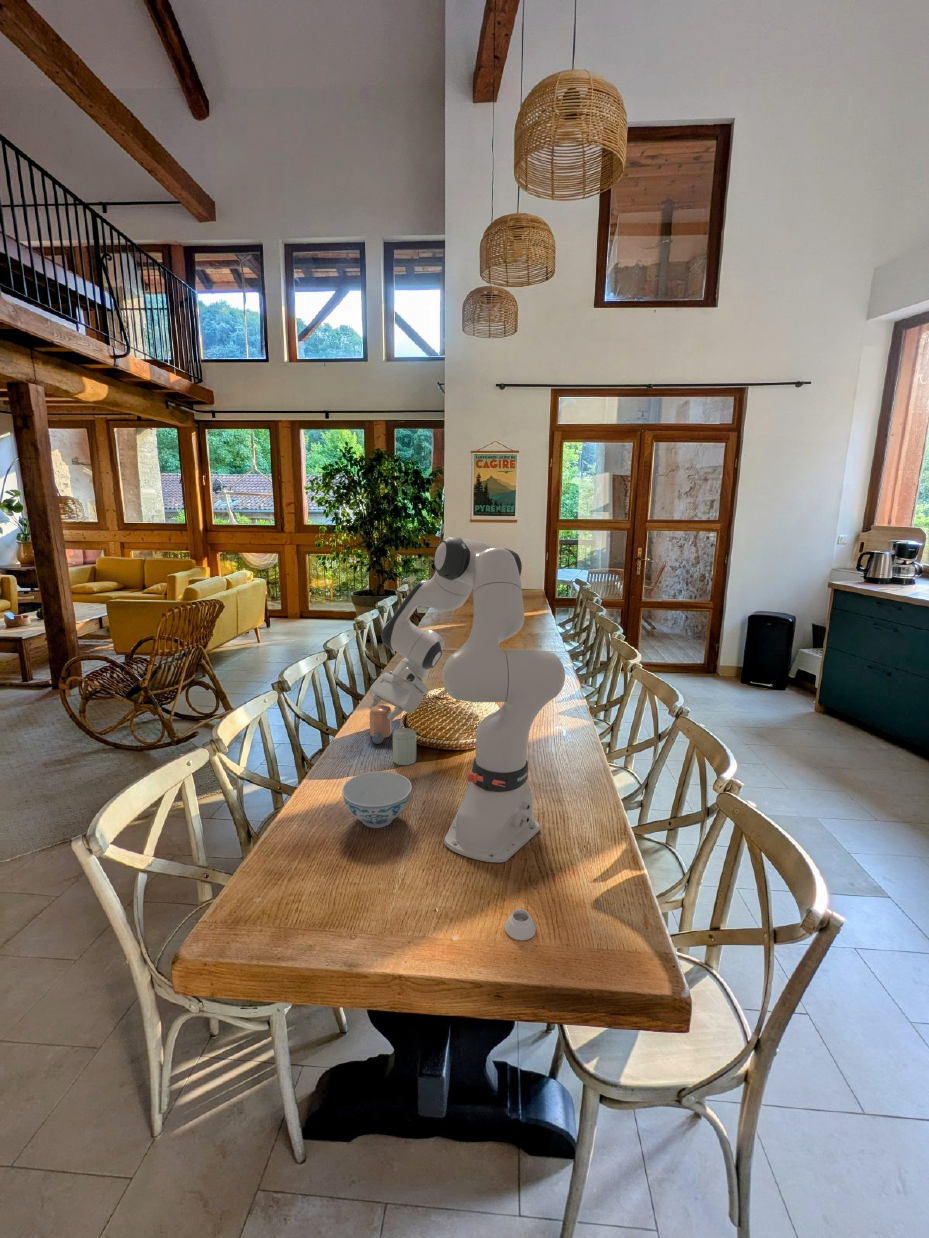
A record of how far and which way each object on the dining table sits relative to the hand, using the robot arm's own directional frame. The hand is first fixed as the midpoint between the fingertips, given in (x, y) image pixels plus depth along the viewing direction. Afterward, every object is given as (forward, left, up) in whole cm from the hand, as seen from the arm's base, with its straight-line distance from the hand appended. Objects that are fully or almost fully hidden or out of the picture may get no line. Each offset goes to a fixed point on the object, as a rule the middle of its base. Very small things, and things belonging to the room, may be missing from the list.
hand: (379, 715), depth 168 cm
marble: (-6, -3, -4) cm, 8 cm away
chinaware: (-39, -25, -6) cm, 47 cm away
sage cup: (-11, -15, -6) cm, 20 cm away
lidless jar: (-56, -65, -6) cm, 85 cm away
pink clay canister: (0, 0, -6) cm, 6 cm away
